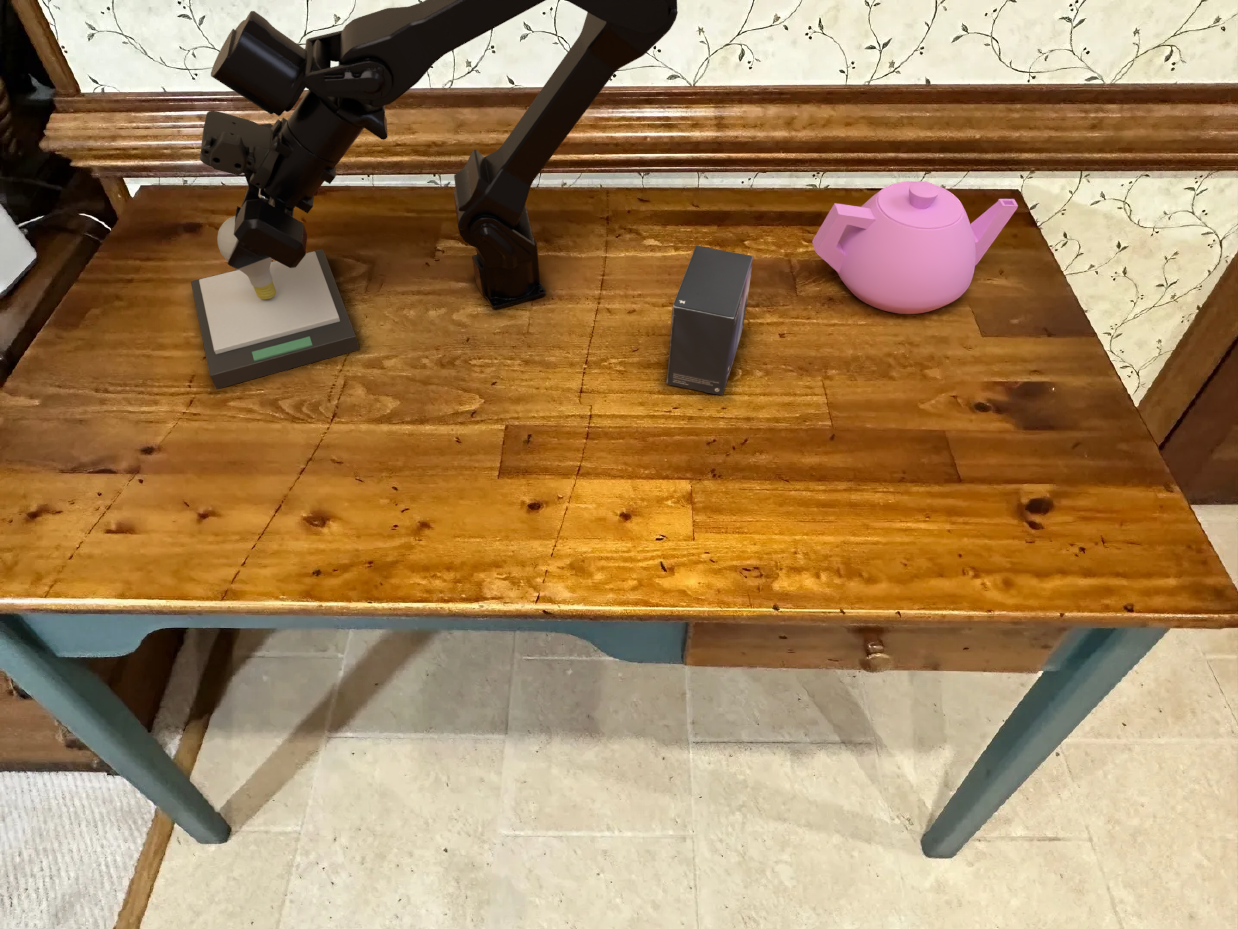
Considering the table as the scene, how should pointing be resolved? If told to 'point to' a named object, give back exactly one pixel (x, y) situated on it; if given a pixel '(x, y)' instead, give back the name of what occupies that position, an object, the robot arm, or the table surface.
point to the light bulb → (255, 271)
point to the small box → (708, 319)
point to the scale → (272, 321)
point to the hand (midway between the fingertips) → (235, 249)
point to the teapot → (908, 246)
